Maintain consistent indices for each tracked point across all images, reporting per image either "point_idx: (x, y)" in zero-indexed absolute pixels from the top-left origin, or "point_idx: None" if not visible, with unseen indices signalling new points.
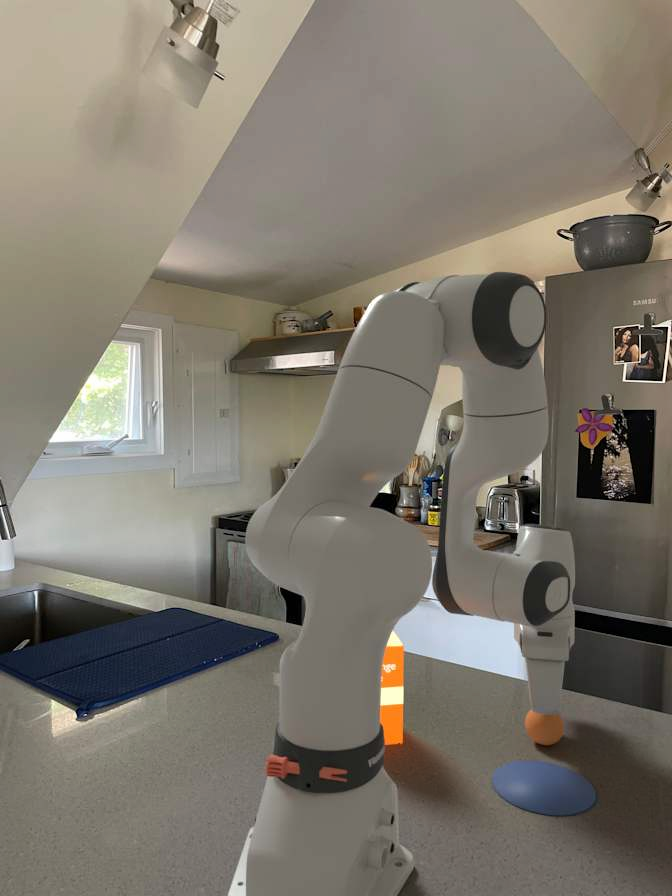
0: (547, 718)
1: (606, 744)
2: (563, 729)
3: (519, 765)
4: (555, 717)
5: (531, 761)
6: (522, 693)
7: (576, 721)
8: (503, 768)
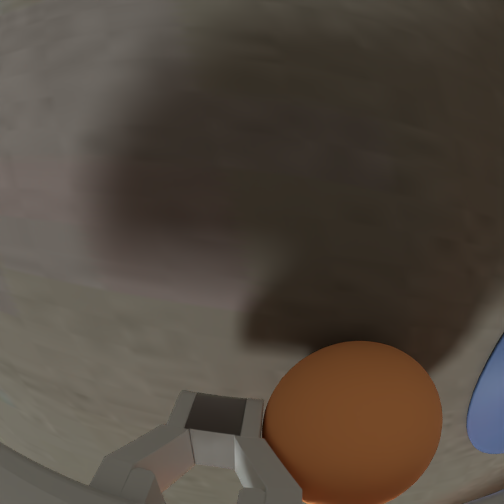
0: (429, 462)
1: (303, 107)
2: (402, 360)
3: (486, 423)
4: (425, 439)
5: (474, 403)
6: (2, 358)
7: (95, 222)
8: (488, 445)
